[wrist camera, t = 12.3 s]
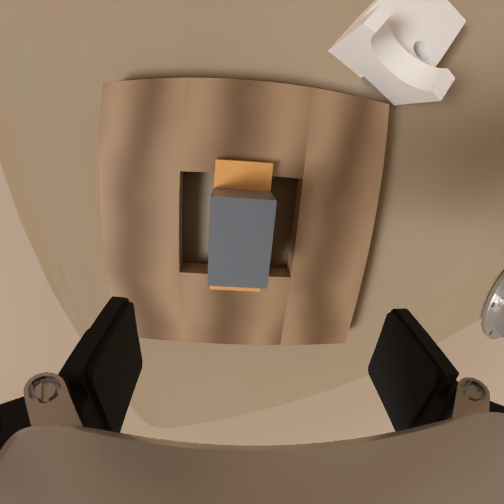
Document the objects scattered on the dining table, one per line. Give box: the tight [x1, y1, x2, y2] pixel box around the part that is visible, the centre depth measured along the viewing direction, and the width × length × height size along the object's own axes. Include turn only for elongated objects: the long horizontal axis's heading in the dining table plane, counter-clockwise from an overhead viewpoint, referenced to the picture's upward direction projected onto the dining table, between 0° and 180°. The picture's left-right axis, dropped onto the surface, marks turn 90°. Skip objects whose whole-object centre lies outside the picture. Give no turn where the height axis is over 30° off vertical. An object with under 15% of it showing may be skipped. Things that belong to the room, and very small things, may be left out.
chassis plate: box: [99, 78, 390, 345], centre depth 24 cm, size 22×22×2 cm
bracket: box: [328, 0, 466, 106], centre depth 16 cm, size 13×7×8 cm, turn 144°
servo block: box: [207, 159, 277, 292], centre depth 22 cm, size 4×10×6 cm, turn 175°
